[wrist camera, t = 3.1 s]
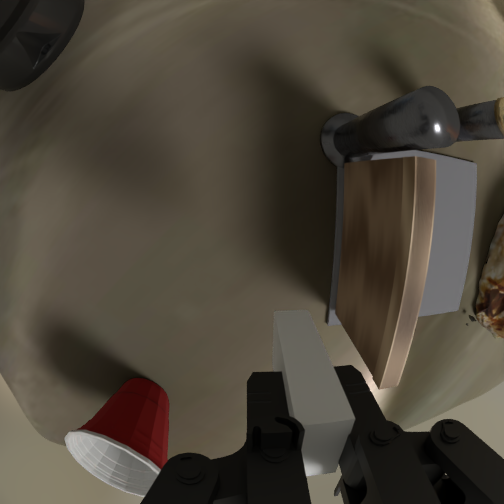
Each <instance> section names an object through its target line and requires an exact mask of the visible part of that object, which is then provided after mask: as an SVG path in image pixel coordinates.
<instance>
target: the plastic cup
mask: <svg viewBox="0 0 504 504" xmlns="http://www.w3.org/2000/svg"><path fill="white" fill-rule="evenodd" d="M168 417H169V400H168V397H167V394H166V392H165V391H164V390H163V389H162V388H161V387H160V386H159V385H157V384H156V383H154V382H152V381H150V380H147V379H144V378H133V379H130V380H128V381H127V382H125V383H124V384H123V385H122V387H121V388H120V389H119V390H118V391H117V392H116V394H114V395H113V396H112V397H111V398H110V399H109V400H108V401H107V402H106V404H105V405H104V406H103V407H102V408H101V409H100V410H99V411H98V412H97V414H96V415H95V416H94V417H93V418H92V419H91V420H89V421H88V422H87V423H86V424H85V425H83V426H82V427H81V428H78V429H77V430H72V431H70V432H69V433H68V434H67V436H66V437H65V442H66V446H67V449H68V450H69V452H70V453H71V454H72V455H73V457H74V458H75V459H76V461H77V462H78V463H80V464H81V465H82V466H83V467H84V468H85V469H86V470H87V471H88V472H90V473H91V474H93V475H94V476H96V477H97V478H99V479H100V480H102V481H103V482H105V483H107V484H109V485H111V486H113V487H115V488H117V489H120V490H122V491H125V492H127V493H131V494H134V495H138V496H142V497H145V495H146V494H147V492H148V491H149V489H150V487H151V486H152V484H153V482H154V481H155V479H156V477H157V476H158V474H159V472H160V471H161V469H162V468H163V466H164V464H165V463H166V462H167V461H168V460H167V451H168V431H169V419H168Z"/></svg>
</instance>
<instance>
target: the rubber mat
mask: <svg viewBox="0 0 504 504" xmlns="http://www.w3.org/2000/svg"><path fill="white" fill-rule="evenodd" d="M410 156H417V157H423V158H428V159H434V160H436V194H435V211H434V223H433V233H432V242H431V250H430V257H429V264H428V270H427V276H426V281H425V287H424V292H423V297H422V302H421V306H420V311H419V315H418V317H419V316H427V315H433V314H440V313H446V312H453V311H458V309H459V305H460V301H461V297H462V292H463V288H464V283H465V278H466V273H467V268H468V263H469V257H470V250H471V243H472V236H473V227H474V217H475V205H476V186H477V163H473V162H469V161H465V160H461V159H456V158H452V157H447V156H443V155H438V154H433V153H428V152H423V151H417V150H410V151H401V152H393V153H385V154H377V155H373V157H372V159H371V160H378V159H389V158H402V157H410ZM343 208H344V168H341V167H339V166H337V199H336V224H335V242H334V257H333V270H332V282H331V292H330V302H329V311H328V320H327V324H328V326H329V325H342V324H341V322H340V321H339V319H338V318H337V316H336V314H335V309H336V300H337V291H338V281H339V270H340V258H341V245H342V229H343Z"/></svg>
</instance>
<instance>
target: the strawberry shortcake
mask: <svg viewBox="0 0 504 504" xmlns="http://www.w3.org/2000/svg"><path fill="white" fill-rule="evenodd" d="M489 254H490V255H489ZM488 256H489V258H488ZM488 256H487V259H488V261H487V259H486V261H487V264H484V267H483V271H482V277H481V279H480V281H479V290H480V291H479V294H478V298H477V301H476V317H477V319H478V321H479V323H480V324H481V325H482V326H484V327H486V328H487V329H488V330H489V331H490V332H492V334H493V336H494V337H495V338H498V337H499V338H504V214H503V216H502V218H501V220H500V221H499V222H498V225H497V229H496V232H495V235H494V237H493V239H492V242H491V245H490V249H489V252H488ZM486 261H485V263H486ZM469 318H470V320H471V321H476V320H475V318H474V317H473V316H471V315H469ZM466 325H468V323H467V324H466Z"/></svg>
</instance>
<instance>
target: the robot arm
mask: <svg viewBox="0 0 504 504" xmlns="http://www.w3.org/2000/svg"><path fill="white" fill-rule="evenodd" d="M83 10H84V0H0V89H1V90H5V91H15V90H18V89H21V88H23V87H25V86H27V85H28V84H30V83H31V82H33V81H34V80H35V79H37V78H38V77H39V76H40V75H41V74H42V73H43V72H45V71H46V70H47V69H48V68H49V66H50V65H51V64H52V63H53V62H54V61H55V60H56V59H57V57H58V56H59V55H60V54H61V52H62V51H63V50H64V48H65V47H66V45H67V44H68V42H69V41H70V39H71V38H72V36H73V34H74V32H75V31H76V29H77V27H78V25H79V22H80V20H81V17H82V14H83ZM272 363H273V371H274V372H253V373H252V375H251V376H250V378H249V379H248V381H247V433H246V435H247V439H246V442H245V444H244V446H243V447H242V448H241V449H240V450H239V451H237V452H235V453H234V454H232V455H229V456H226V457H221V458H217V459H212V460H210V459H209V458H208V457H206V456H203V455H201V454H197V453H183V454H178V455H176V456H174V457H172V458H170V459H169V460H168V461H167V462H166V463H165V464H164V466H163V468H162V469H161V471H160V472H159V474H158V476H157V477H156V479H155V481H154V482H153V484H152V486H151V487H150V489H149V491H148V492H147V494H146V495H145V497H144V499H143V500H142V502H141V503H140V504H311V500H310V495H309V489H308V483H307V478H306V476H313V475H319V474H327V473H333V472H336V469H337V467H338V464H339V466H340V468H341V473H342V476H341V478H340V480H339V482H338V484H337V486H336V488H335V490H334V496H338V494H339V492H340V491H341V494H342V498H343V502H344V504H504V459H503V458H502V457H501V456H499V455H498V454H497V453H496V452H495V451H494V450H493V449H491V448H490V447H489V446H488V445H487V444H486V443H485V442H483V441H482V440H481V439H480V438H479V437H478V436H476V435H475V434H474V433H473V432H472V431H471V430H469V429H468V428H467V427H466V426H465V425H464V424H462V423H461V422H459V421H456V420H453V419H444V420H441V421H438V422H437V423H436V424H435V425H434V426H433V427H432V428H431V430H430V432H405V431H403V430H402V429H401V427H400V426H399V425H397V424H395V423H393V422H391V421H387V420H386V419H385V417H384V415H383V413H382V411H381V409H380V407H379V405H378V404H377V402H376V400H375V398H374V396H373V394H372V392H371V391H370V389H369V387H368V385H367V384H366V381H365V379H364V377H363V376H362V374H361V372H360V371H358V370H357V369H356V368H354V367H353V366H352V365H346V366H337V367H333V365H332V362H331V360H330V358H329V355H328V353H327V351H326V349H325V346H324V344H323V342H322V340H321V337H320V335H319V333H318V331H317V328H316V326H315V324H314V322H313V319H312V317H311V315H310V313H309V311H308V310H290V311H274V329H273V357H272ZM445 473H446V474H447V475H445Z"/></svg>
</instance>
